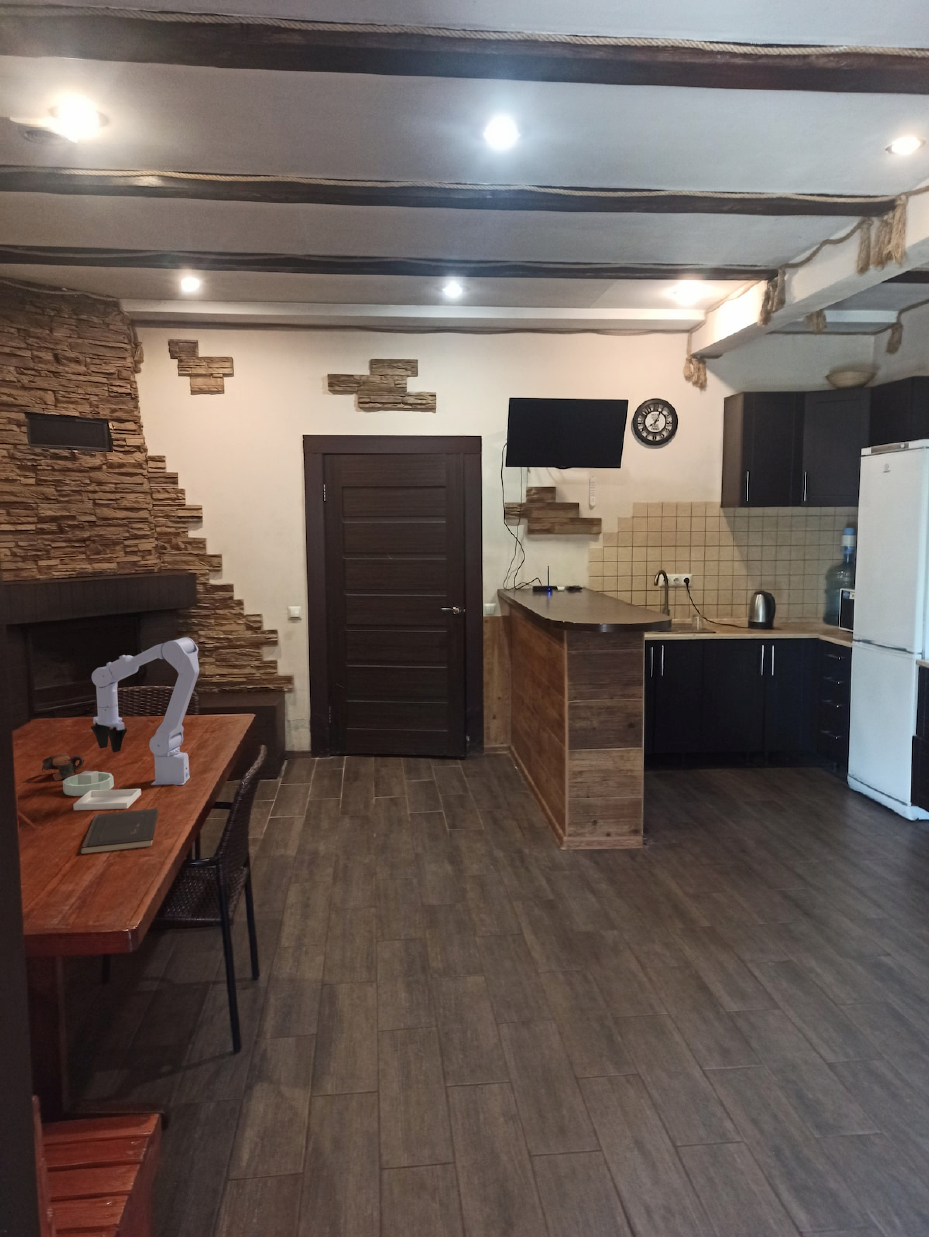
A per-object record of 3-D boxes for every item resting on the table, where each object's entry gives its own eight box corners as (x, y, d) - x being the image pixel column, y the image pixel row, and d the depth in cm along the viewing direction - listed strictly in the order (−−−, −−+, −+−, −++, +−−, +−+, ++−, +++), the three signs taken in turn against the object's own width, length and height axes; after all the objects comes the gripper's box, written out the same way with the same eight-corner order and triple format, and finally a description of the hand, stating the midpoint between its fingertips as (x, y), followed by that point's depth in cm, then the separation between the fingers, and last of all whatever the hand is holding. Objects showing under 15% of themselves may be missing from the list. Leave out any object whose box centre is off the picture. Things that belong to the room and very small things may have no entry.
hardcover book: (159, 816, 216) (158, 808, 216) (153, 848, 194) (152, 839, 194) (94, 823, 212) (93, 814, 211) (80, 856, 190) (79, 847, 189)
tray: (141, 796, 231) (140, 788, 231) (127, 810, 219) (126, 802, 219) (90, 797, 230) (90, 790, 230) (73, 812, 218) (73, 804, 218)
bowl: (119, 782, 244) (118, 771, 243) (103, 796, 231) (103, 784, 231) (74, 784, 243) (74, 772, 242) (56, 798, 230) (55, 786, 230)
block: (91, 790, 235) (90, 775, 234) (78, 790, 235) (77, 775, 235) (98, 786, 239) (98, 771, 238) (85, 786, 239) (84, 771, 238)
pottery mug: (44, 784, 244) (36, 759, 246) (50, 789, 253) (42, 765, 255) (86, 769, 249) (78, 745, 251) (90, 775, 257) (83, 751, 259)
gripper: (133, 706, 243) (135, 750, 245) (107, 700, 252) (110, 743, 254) (110, 710, 238) (112, 755, 239) (85, 704, 247) (88, 748, 248)
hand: (109, 749), depth 246 cm, fingers open, 7 cm apart
